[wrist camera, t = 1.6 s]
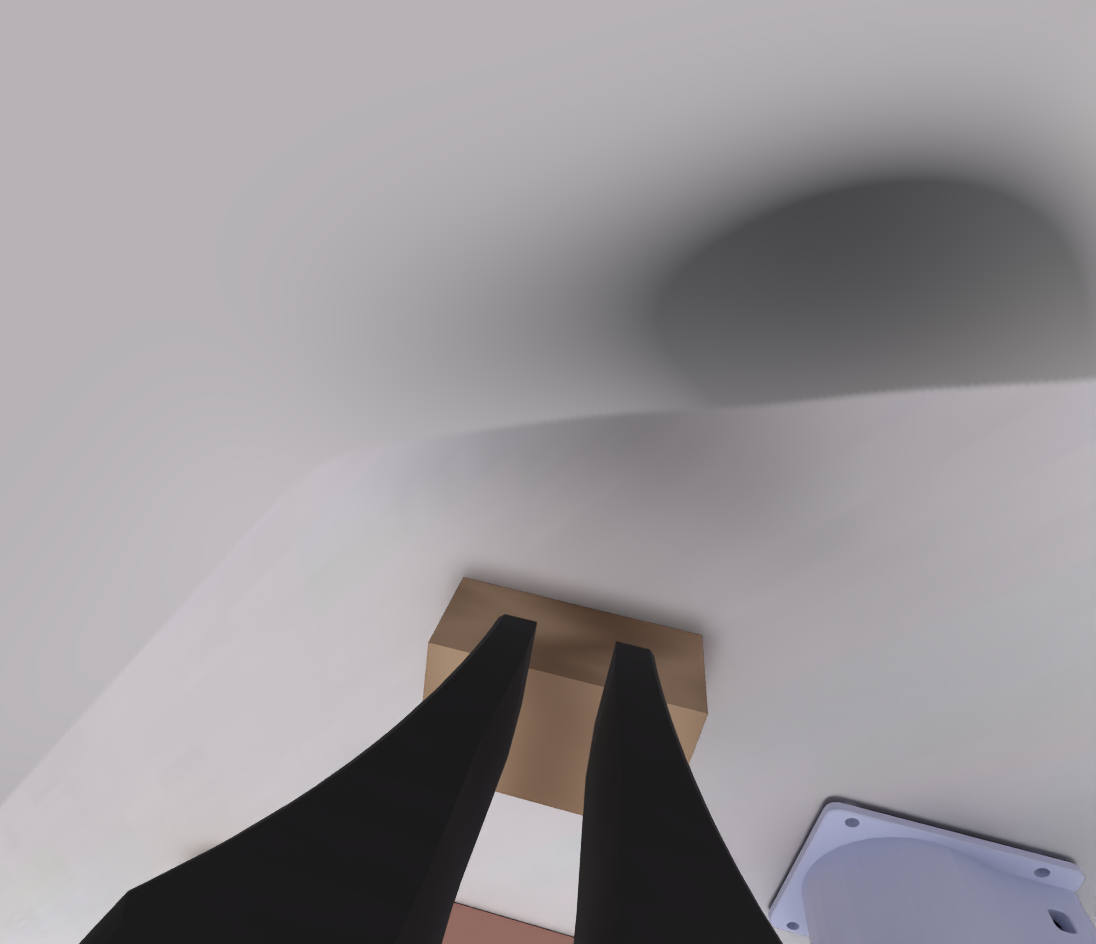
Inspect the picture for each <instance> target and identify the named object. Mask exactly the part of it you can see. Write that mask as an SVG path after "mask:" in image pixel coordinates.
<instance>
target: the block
mask: <svg viewBox="0 0 1096 944" xmlns="http://www.w3.org/2000/svg"><path fill="white" fill-rule="evenodd" d="M504 614H507V615H511V616H516V617H520V618H524V619H528V620H532V621H536V622H537V627H536V632H535V637H534V643H533V648H532V653H531V659H530V664H529V669H528V675H527V680H526V686H525V691H524V696H523V702H522V706H521V710H520V714H519V717H518V721H517V725H516V729H515V733H514V736H513V740H512V744H511V747H510V751H509V755H508V758H507V761H506V764H505V766H504V769H503V772H502V774H501V777H500V780H499V782H498V785H497V788H496V790H495V791H496V792H499V793H503V794H506V795H510V796H514V797H517V798H521V799H525V800H528V801H532V802H536V803H539V804H543V805H546V806H550V807H554V808H557V809H561V810H565V811H568V812H572V813H576V814H579V815H583V807H584V792H585V778H586V772H587V766H588V760H589V753H590V747H591V742H592V736H593V730H594V724H595V720H596V716H597V712H598V708H599V704H600V701H601V697H602V693H603V689H604V685H605V681H606V678H607V674H608V670H609V666H610V662H611V659H612V655H613V651H614V647H615V643H616V641H618V642H622V643H626V644H630V645H634V646H638V647H642V648H646V649H650V650H651V652H652V653H653V655H654V657H655V662H656V667H657V671H658V675H659V679H660V683H661V687H662V690H663V694H664V697H665V700H666V703H667V706H668V710H669V713H670V716H671V719H672V722H673V724H674V727H675V730H676V733H677V735H678V738H679V741H680V743H681V746H682V749H683V751H684V754H685V757H686V759H687V762H688V764H689V763H690V760H691V757H692V755H693V752H694V749H695V747H696V744H697V741H698V739H699V736H700V733H701V731H702V728H703V725H704V723H705V720H706V717H707V715H708V709H707V695H706V682H705V668H704V654H703V641H702V635H698V634H694V633H689V632H685V631H681V630H677V629H673V628H669V627H665V626H661V625H657V624H653V623H648V622H644V621H640V620H636V619H632V618H628V617H624V616H620V615H616V614H612V613H607V612H603V611H599V610H595V609H591V608H587V607H583V606H579V605H575V604H571V603H567V602H562V601H558V600H554V599H550V598H546V597H542V596H538V595H534V594H530V593H526V592H521V591H517V590H513V589H509V588H505V587H501V586H497V585H493V584H489V583H485V582H481V581H476V580H472V579H468V578H464V577H463V579H462V581H461V582H460V584H459V586H458V588H457V590H456V592H455V594H454V596H453V597H452V599H451V601H450V603H449V605H448V607H447V609H446V611H445V612H444V614H443V616H442V618H441V620H440V622H439V624H438V626H437V627H436V629H435V631H434V633H433V635H432V637H431V639H430V641H429V642H428V652H427V662H426V673H425V683H424V693H423V701H424V700H425V699H426V698H427V697H428V696H429V695H430V694H431V693H432V692H433V691H434V690H435V689H437V688H438V687H439V686H440V685H441V684H442V682H443V681H444V680H445V679H446V678H447V677H448V676H449V675H450V674H451V673H452V672H453V671H454V670H455V669H456V668H457V667H458V666H459V665H460V664H461V663H462V662H463V661H464V660H465V658H466V657H467V656H468V655H469V654H470V653H471V652H472V650H473V649H474V648H475V647H476V646H477V645H478V644H479V642H480V641H481V640H482V639H483V637H484V636H485V635H486V634H487V632H488V631H489V630H490V629H491V627H492V626H493V624H494V623H495V622H496V620H497V619H498V617H500V616H502V615H504Z"/></svg>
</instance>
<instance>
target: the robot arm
mask: <svg viewBox="0 0 1096 944" xmlns="http://www.w3.org/2000/svg"><path fill="white" fill-rule="evenodd" d="M536 627H537V622H536V621H532V620H528V619H524V618H520V617H516V616H511V615H507V614H504V615H502V616H500V617H498V619H497V620H496V622H495V623H494V624H493V626H492V627H491V629H490V630H489V631H488V632H487V634H486V635H485V636H484V637H483V639H482V640H481V641H480V642H479V644H478V645H477V646H476V647H475V648H474V649H473V650H472V652H471V653H470V654H469V655H468V656H467V657H466V658H465V660H464V661H463V662H462V663H461V664H460V665H459V666H458V667H457V668H456V669H455V670H454V671H453V672H452V673H451V674H450V675H449V676H448V677H447V678H446V679H445V680H444V681H443V682H442V684H441V685H440V686H439V687H438V688H437V689H435V690H434V691H433V692H432V693H431V694H430V695H429V696H428V697H427V698H426V699H425V700H424V701H423V702H421V703H420V704H419V705H418V706H417V707H416V708H415V709H414V710H413V711H412V712H411V713H409V714H408V715H407V716H406V717H405V718H404V719H403V720H402V721H401V722H399V723H398V724H397V725H396V726H395V727H394V728H392V729H391V730H390V731H389V732H388V733H386V734H385V735H384V736H383V737H382V738H380V739H379V740H378V741H377V742H375V743H374V744H373V745H371V746H370V747H369V748H368V749H366V750H365V751H364V752H362V753H361V754H360V755H359V756H357V757H356V758H355V759H353V760H352V761H351V762H349V763H348V764H346V765H345V766H343V767H342V768H341V769H339V770H338V771H336V772H335V773H334V774H332V775H331V776H329V777H328V778H326V779H325V780H324V781H322V782H321V783H319V784H318V785H317V786H315V787H314V788H312V789H311V790H309V791H308V792H306V793H304V794H303V795H301V796H300V797H298V798H297V799H295V800H294V801H292V802H291V803H289V804H287V805H286V806H284V807H282V808H281V809H279V810H277V811H276V812H274V813H272V814H270V815H269V816H267V817H265V818H264V819H262V820H260V821H259V822H257V823H255V824H254V825H252V826H250V827H249V828H247V829H245V830H244V831H242V832H240V833H239V834H237V835H235V836H234V837H232V838H230V839H228V840H226V841H225V842H223V843H221V844H219V845H217V846H216V847H214V848H212V849H210V850H208V851H206V852H204V853H202V854H200V855H198V856H196V857H194V858H192V859H190V860H188V861H186V862H185V863H183V864H181V865H179V866H177V867H175V868H173V869H171V870H169V871H167V872H165V873H163V874H161V875H159V876H157V877H155V878H153V879H151V880H149V881H147V882H145V883H143V884H141V885H139V886H137V887H135V888H133V889H131V890H129V891H128V892H127V893H126V894H125V895H124V896H123V897H122V898H121V899H120V900H119V901H118V902H117V903H116V904H115V906H114V907H113V908H112V909H111V910H110V911H109V912H108V913H107V914H106V915H105V916H104V917H103V918H102V920H101V921H100V922H99V923H98V924H97V925H96V926H95V927H94V928H93V929H92V930H91V931H90V932H89V933H88V935H87V936H86V937H85V938H84V939H83V940H82V941H81V942H80V943H79V944H442V942H443V938H444V935H445V931H446V928H447V924H448V921H449V917H450V914H451V910H452V907H453V904H454V901H455V898H456V895H457V892H458V889H459V886H460V883H461V880H462V878H463V875H464V872H465V870H466V867H467V864H468V862H469V859H470V856H471V854H472V851H473V848H474V846H475V843H476V841H477V838H478V835H479V833H480V830H481V827H482V825H483V822H484V819H485V817H486V814H487V811H488V809H489V806H490V804H491V801H492V798H493V796H494V793H495V790H496V788H497V785H498V782H499V780H500V777H501V774H502V772H503V769H504V766H505V764H506V761H507V758H508V755H509V751H510V747H511V744H512V740H513V736H514V733H515V729H516V725H517V721H518V717H519V714H520V710H521V706H522V702H523V696H524V691H525V686H526V680H527V675H528V669H529V664H530V659H531V653H532V648H533V643H534V637H535V632H536ZM1084 880H1085V877H1084V874H1083V873H1082V871H1081V869H1080V868H1079V867H1078V866H1077V865H1076V864H1073V863H1071V862H1067V861H1063V860H1059V859H1055V858H1052V857H1048V856H1044V855H1040V854H1036V853H1032V852H1028V851H1025V850H1021V849H1017V848H1013V847H1009V846H1005V845H1002V844H998V843H994V842H990V841H986V840H982V839H979V838H975V837H971V836H967V835H963V834H959V833H956V832H952V831H948V830H944V829H940V828H936V827H933V826H929V825H925V824H921V823H917V822H913V821H910V820H906V819H902V818H898V817H894V816H890V815H887V814H883V813H879V812H875V811H871V810H867V809H863V808H860V807H856V806H852V805H848V804H844V803H840V802H832V803H829V804H827V805H826V806H825V807H824V808H823V810H822V812H821V814H820V816H819V818H818V820H817V822H816V823H815V825H814V827H813V829H812V831H811V833H810V835H809V837H808V838H807V840H806V842H805V844H804V846H803V848H802V850H801V852H800V854H799V855H798V857H797V859H796V861H795V863H794V865H793V867H792V869H791V870H790V872H789V874H788V876H787V878H786V880H785V882H784V884H783V885H782V887H781V889H780V891H779V893H778V895H777V897H776V899H775V900H774V902H773V904H772V906H771V908H770V910H769V913H768V915H769V921H770V923H769V921H768V919H767V918H766V916H765V915H764V913H763V912H762V910H761V908H760V906H759V905H758V903H757V901H756V900H755V898H754V896H753V894H752V892H751V891H750V889H749V887H748V885H747V884H746V882H745V880H744V878H743V877H742V875H741V873H740V871H739V869H738V868H737V866H736V864H735V862H734V860H733V858H732V856H731V854H730V852H729V851H728V849H727V847H726V845H725V843H724V841H723V839H722V837H721V835H720V833H719V831H718V829H717V827H716V825H715V823H714V821H713V819H712V817H711V814H710V812H709V810H708V808H707V806H706V804H705V801H704V799H703V797H702V795H701V792H700V790H699V788H698V786H697V783H696V781H695V779H694V776H693V774H692V772H691V769H690V767H689V764H688V762H687V759H686V757H685V754H684V751H683V749H682V746H681V743H680V741H679V738H678V735H677V733H676V730H675V727H674V724H673V722H672V719H671V716H670V713H669V710H668V706H667V703H666V700H665V697H664V694H663V690H662V687H661V683H660V679H659V675H658V671H657V667H656V662H655V657H654V655H653V653H652V652H651V650H650V649H646V648H642V647H638V646H634V645H630V644H626V643H622V642H618V641H616V643H615V647H614V651H613V655H612V659H611V662H610V666H609V670H608V674H607V678H606V681H605V685H604V689H603V693H602V697H601V701H600V704H599V708H598V712H597V716H596V720H595V724H594V730H593V736H592V742H591V747H590V753H589V760H588V766H587V772H586V778H585V792H584V807H583V822H582V838H581V853H580V869H579V885H578V900H577V915H576V925H575V935H574V944H783V943H782V942H781V940H780V938H779V937H778V935H777V934H776V932H775V930H774V929H773V927H772V926H771V925H773V926H774V927H776V928H778V929H781V930H785V931H789V932H792V933H796V934H799V935H803V936H806V937H810V942H811V944H1096V928H1095V927H1094V925H1093V923H1092V922H1091V920H1090V918H1089V916H1088V915H1087V913H1086V911H1085V909H1084V908H1083V906H1082V904H1081V902H1080V901H1079V899H1078V897H1077V895H1076V894H1075V892H1076V891H1077V889H1078V888H1079V887H1080V886H1081V885H1082V884H1083V882H1084Z"/></svg>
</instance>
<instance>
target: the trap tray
mask: <svg viewBox="0 0 1096 944" xmlns="http://www.w3.org/2000/svg"><path fill="white" fill-rule="evenodd" d="M442 944H574V938H573V937H570V936H566V935H563V934H560V933H556V932H553V931H549V930H546V929H542V928H539V927H536V926H532V925H529V924H525V923H522V922H519V921H515V920H512V919H508V918H505V917H501V916H498V915H495V914H491V913H488V912H484V911H481V910H478V909H474V908H471V907H467V906H464V905H460V904H457V903H454V904H453V907H452V910H451V914H450V917H449V921H448V924H447V928H446V931H445V935H444V938H443V942H442Z"/></svg>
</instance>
